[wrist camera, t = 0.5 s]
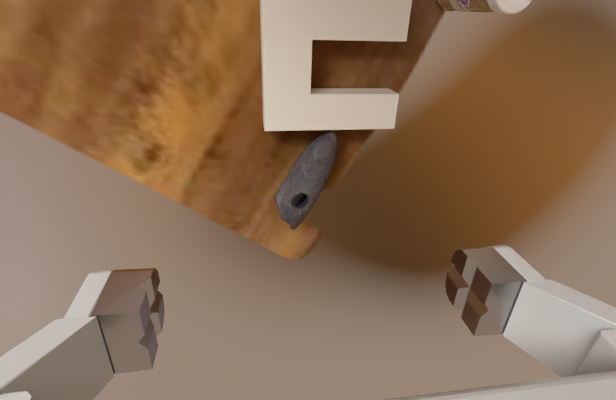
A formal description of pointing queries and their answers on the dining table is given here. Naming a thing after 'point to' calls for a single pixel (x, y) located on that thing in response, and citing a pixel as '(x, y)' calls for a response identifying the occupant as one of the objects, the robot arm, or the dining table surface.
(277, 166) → the dining table surface
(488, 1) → the sprinkles bottle
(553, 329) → the robot arm
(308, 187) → the perforated stone tool
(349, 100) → the slotted plate
